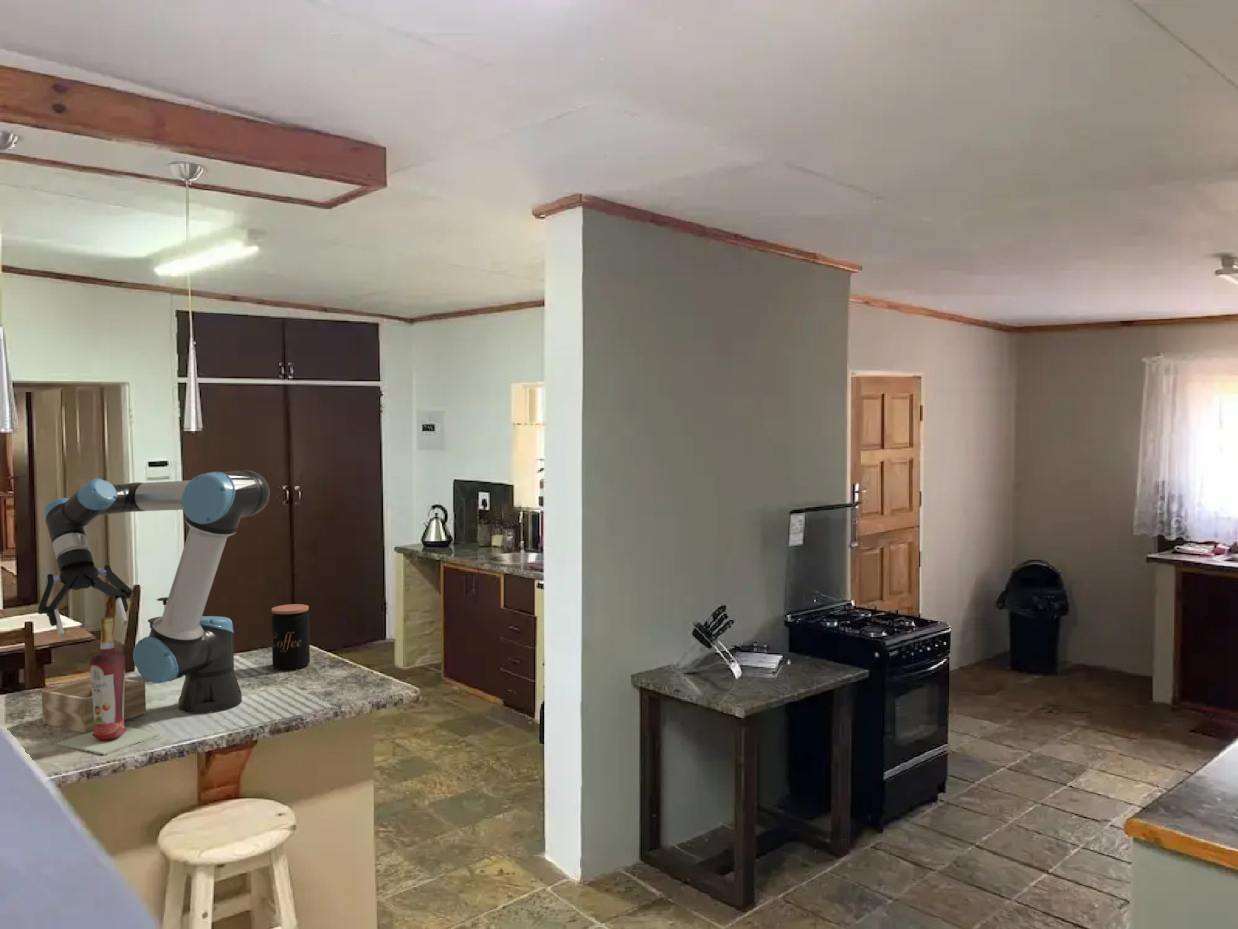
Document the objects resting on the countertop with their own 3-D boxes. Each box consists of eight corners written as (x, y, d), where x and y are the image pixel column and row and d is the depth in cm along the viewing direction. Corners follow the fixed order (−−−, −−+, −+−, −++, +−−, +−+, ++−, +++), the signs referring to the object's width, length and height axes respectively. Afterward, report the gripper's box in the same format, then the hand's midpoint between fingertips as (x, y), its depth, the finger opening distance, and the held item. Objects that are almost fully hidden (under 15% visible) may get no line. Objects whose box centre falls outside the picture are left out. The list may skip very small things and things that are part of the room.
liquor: (134, 734, 214) (131, 616, 212) (108, 745, 207) (105, 623, 205) (110, 731, 216) (107, 614, 214) (83, 741, 209) (80, 620, 207)
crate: (145, 713, 231) (145, 682, 230) (85, 732, 216) (84, 699, 216) (104, 705, 238) (103, 675, 237) (42, 723, 223) (41, 691, 223)
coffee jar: (265, 670, 271) (264, 610, 270) (284, 661, 281) (283, 603, 280) (298, 672, 269) (297, 611, 268) (316, 662, 279) (315, 604, 279)
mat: (159, 735, 214) (159, 733, 214) (104, 755, 201) (103, 753, 201) (114, 726, 221) (114, 724, 221) (57, 744, 208) (57, 742, 208)
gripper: (126, 554, 238) (147, 625, 230) (13, 572, 222) (32, 649, 213) (130, 539, 234) (152, 610, 225) (15, 556, 217) (35, 633, 209)
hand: (94, 629), depth 219 cm, fingers open, 13 cm apart
